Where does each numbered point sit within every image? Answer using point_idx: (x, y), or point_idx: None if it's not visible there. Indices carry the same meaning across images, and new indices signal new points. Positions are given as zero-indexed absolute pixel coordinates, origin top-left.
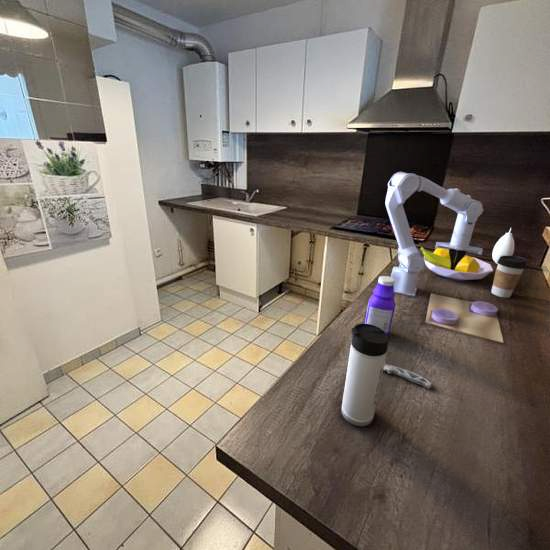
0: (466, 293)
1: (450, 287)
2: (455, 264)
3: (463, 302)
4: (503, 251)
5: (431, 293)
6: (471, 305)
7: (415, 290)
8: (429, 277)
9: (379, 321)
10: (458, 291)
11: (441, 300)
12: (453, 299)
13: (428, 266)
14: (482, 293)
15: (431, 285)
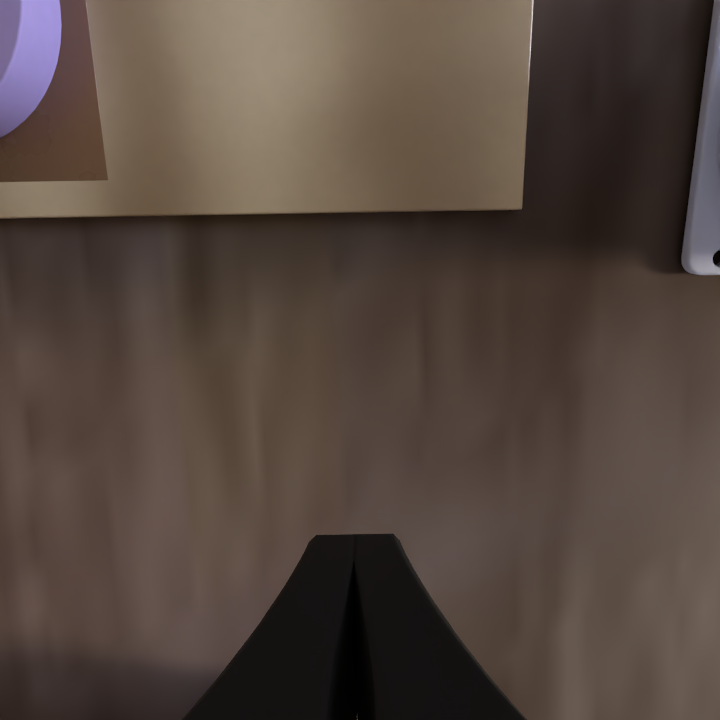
0: (156, 475)
1: None
2: (308, 620)
3: (153, 143)
4: None
5: (515, 204)
6: (43, 3)
7: (709, 175)
8: (533, 698)
9: None
10: (235, 484)
11: (395, 40)
12: (265, 169)
13: None
14: (16, 566)
15: (510, 491)
